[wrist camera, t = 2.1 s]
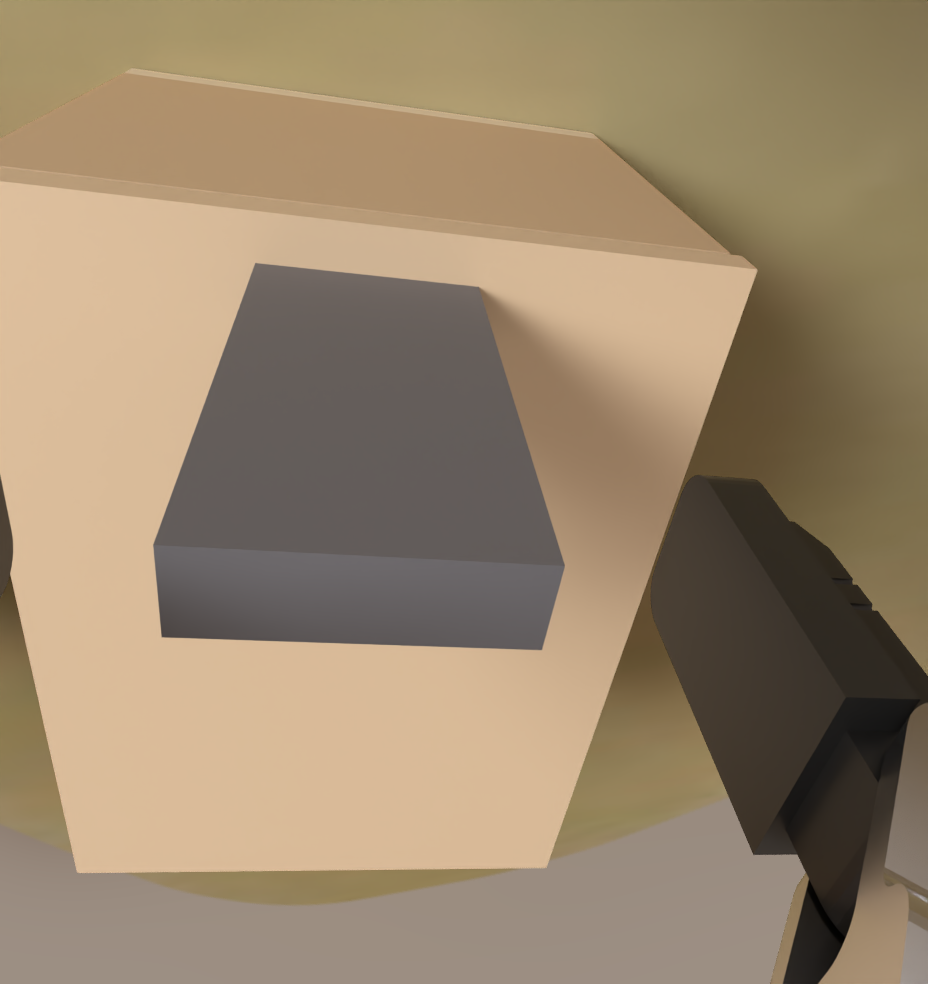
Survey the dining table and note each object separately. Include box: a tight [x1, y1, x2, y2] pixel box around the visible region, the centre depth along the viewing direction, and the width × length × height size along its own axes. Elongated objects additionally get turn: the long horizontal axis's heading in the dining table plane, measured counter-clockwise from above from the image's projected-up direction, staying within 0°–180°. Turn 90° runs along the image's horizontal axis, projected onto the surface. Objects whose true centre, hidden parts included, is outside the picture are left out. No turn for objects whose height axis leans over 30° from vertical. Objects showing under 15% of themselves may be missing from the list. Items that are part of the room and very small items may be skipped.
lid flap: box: [0, 167, 758, 873], centre depth 16 cm, size 20×14×9 cm
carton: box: [0, 68, 730, 254], centre depth 25 cm, size 20×14×12 cm
